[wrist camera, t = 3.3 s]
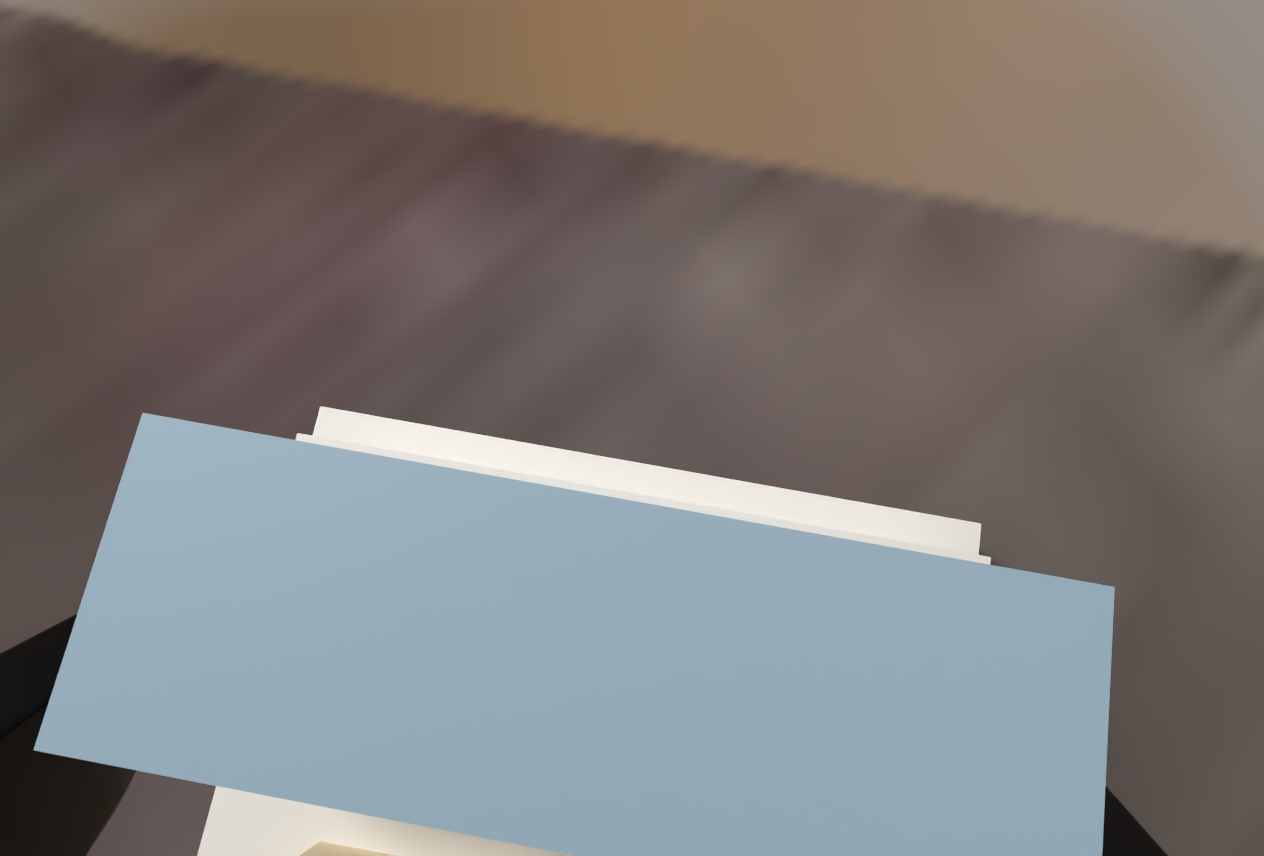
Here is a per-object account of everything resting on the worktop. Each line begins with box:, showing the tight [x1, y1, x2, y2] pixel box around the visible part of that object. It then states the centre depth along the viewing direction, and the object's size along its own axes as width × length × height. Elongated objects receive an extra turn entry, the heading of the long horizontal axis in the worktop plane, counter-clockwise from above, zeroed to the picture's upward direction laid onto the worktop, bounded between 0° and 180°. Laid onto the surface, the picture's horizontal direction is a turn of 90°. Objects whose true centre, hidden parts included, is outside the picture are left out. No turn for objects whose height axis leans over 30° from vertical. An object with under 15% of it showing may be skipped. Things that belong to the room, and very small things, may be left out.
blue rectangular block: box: [33, 413, 1115, 856], centre depth 11 cm, size 2×6×12 cm, turn 80°
